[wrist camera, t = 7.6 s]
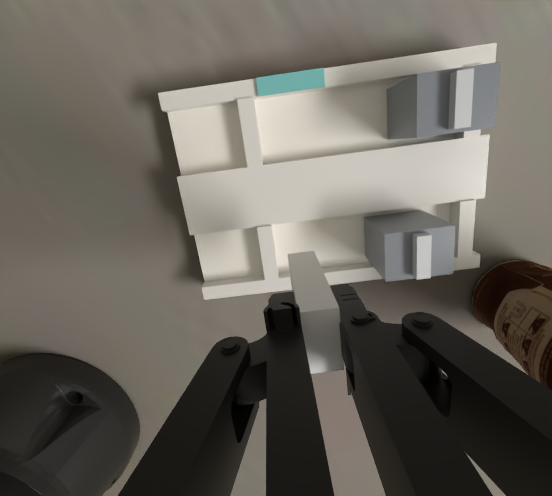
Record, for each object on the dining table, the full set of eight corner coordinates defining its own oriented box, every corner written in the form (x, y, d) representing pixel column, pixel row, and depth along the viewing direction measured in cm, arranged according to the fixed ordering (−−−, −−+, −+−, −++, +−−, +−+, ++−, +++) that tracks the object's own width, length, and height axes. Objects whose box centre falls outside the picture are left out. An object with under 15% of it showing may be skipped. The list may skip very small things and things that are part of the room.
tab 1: (387, 139, 21) (421, 137, 16) (386, 89, 20) (422, 70, 15) (449, 131, 20) (503, 126, 16) (451, 80, 19) (509, 58, 15)
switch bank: (211, 285, 26) (203, 301, 23) (171, 98, 21) (156, 92, 19) (459, 255, 25) (481, 268, 22) (471, 54, 20) (499, 41, 18)
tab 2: (365, 256, 23) (388, 286, 18) (363, 217, 22) (387, 236, 17) (420, 250, 23) (458, 277, 18) (420, 210, 22) (461, 228, 17)
